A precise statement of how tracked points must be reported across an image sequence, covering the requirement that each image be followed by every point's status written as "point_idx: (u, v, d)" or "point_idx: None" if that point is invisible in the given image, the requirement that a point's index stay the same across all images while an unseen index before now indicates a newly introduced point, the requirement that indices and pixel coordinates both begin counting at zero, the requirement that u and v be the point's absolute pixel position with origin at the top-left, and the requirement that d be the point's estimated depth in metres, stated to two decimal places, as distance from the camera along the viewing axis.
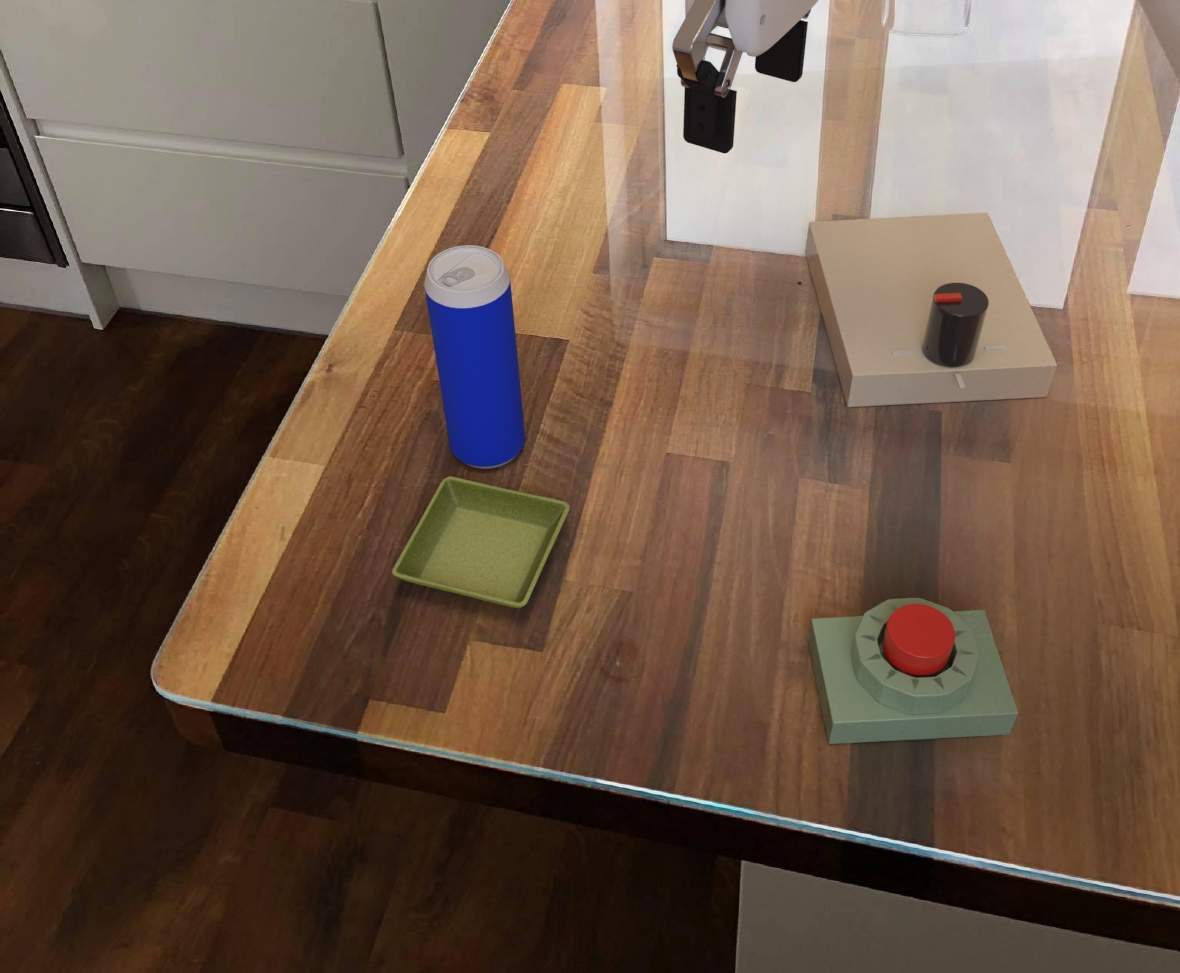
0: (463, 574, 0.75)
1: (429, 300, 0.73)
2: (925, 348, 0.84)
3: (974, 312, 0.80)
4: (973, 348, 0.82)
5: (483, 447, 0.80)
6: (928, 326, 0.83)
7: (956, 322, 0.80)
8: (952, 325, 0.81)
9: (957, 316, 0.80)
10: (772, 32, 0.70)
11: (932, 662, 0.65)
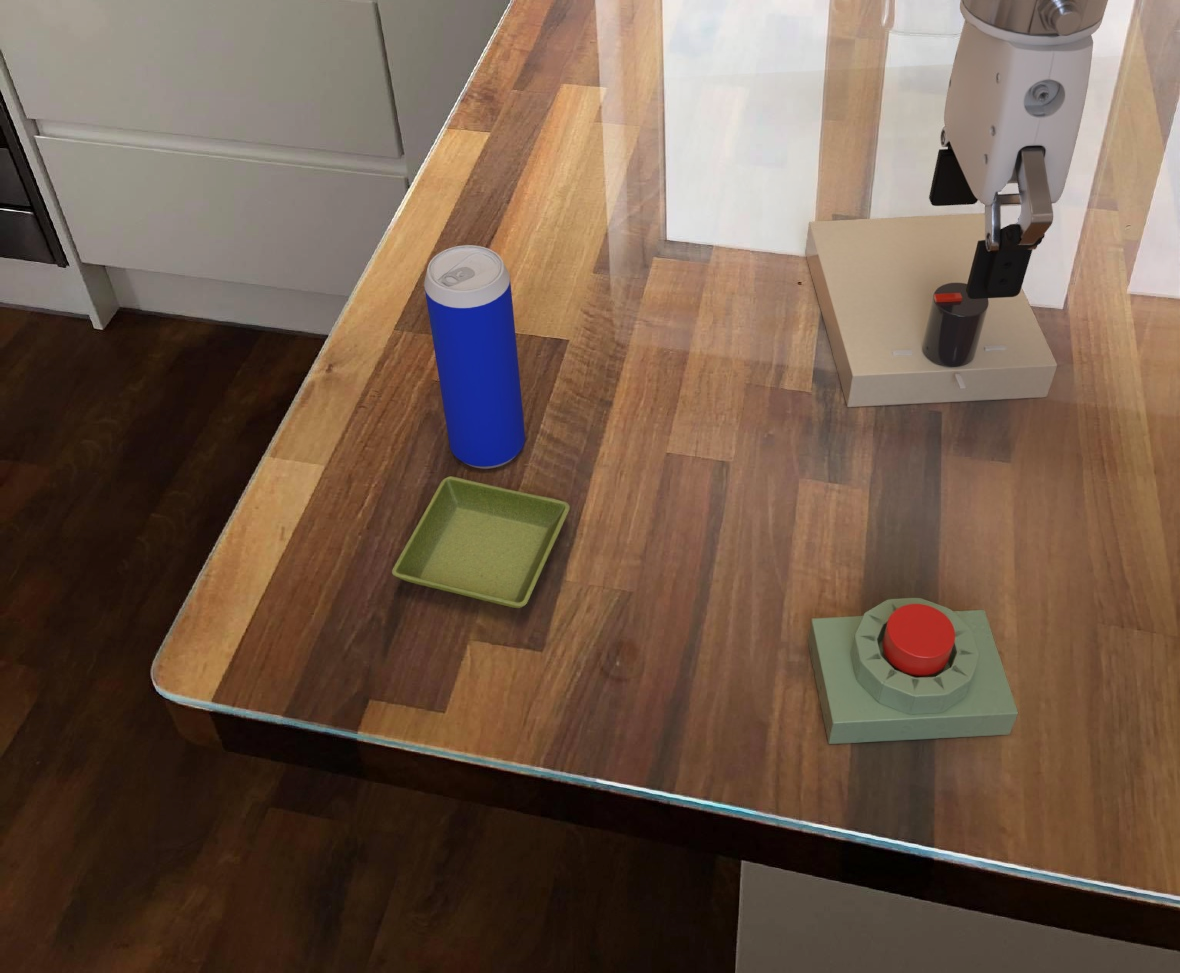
0: (463, 574, 0.75)
1: (429, 300, 0.73)
2: (925, 348, 0.84)
3: (974, 312, 0.80)
4: (973, 348, 0.82)
5: (483, 447, 0.80)
6: (928, 326, 0.83)
7: (956, 322, 0.80)
8: (952, 325, 0.81)
9: (957, 316, 0.80)
10: None
11: (932, 662, 0.65)
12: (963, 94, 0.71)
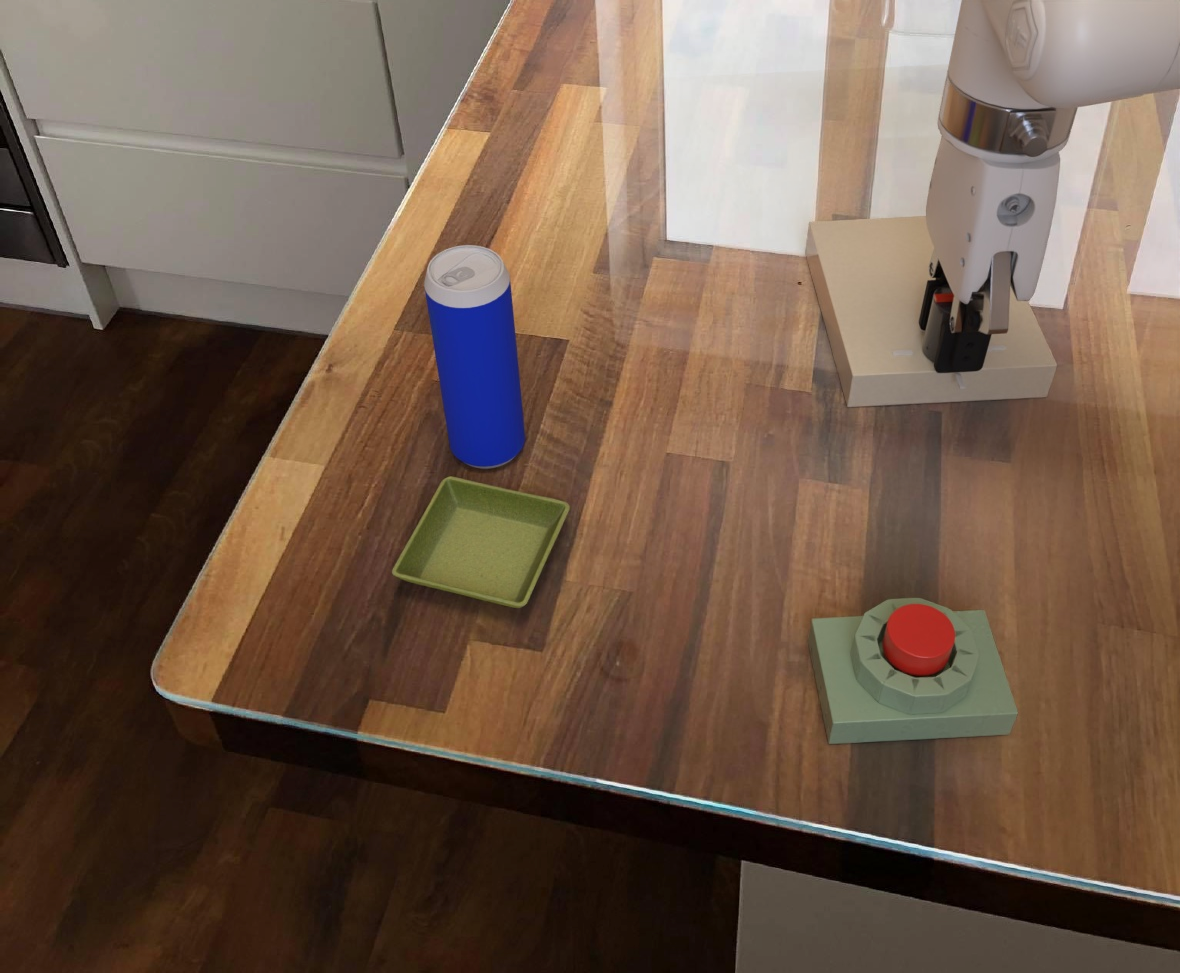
0: (463, 574, 0.75)
1: (429, 300, 0.73)
2: (925, 348, 0.84)
3: None
4: None
5: (483, 447, 0.80)
6: (928, 326, 0.83)
7: None
8: None
9: None
10: None
11: (932, 662, 0.65)
12: (942, 199, 0.76)
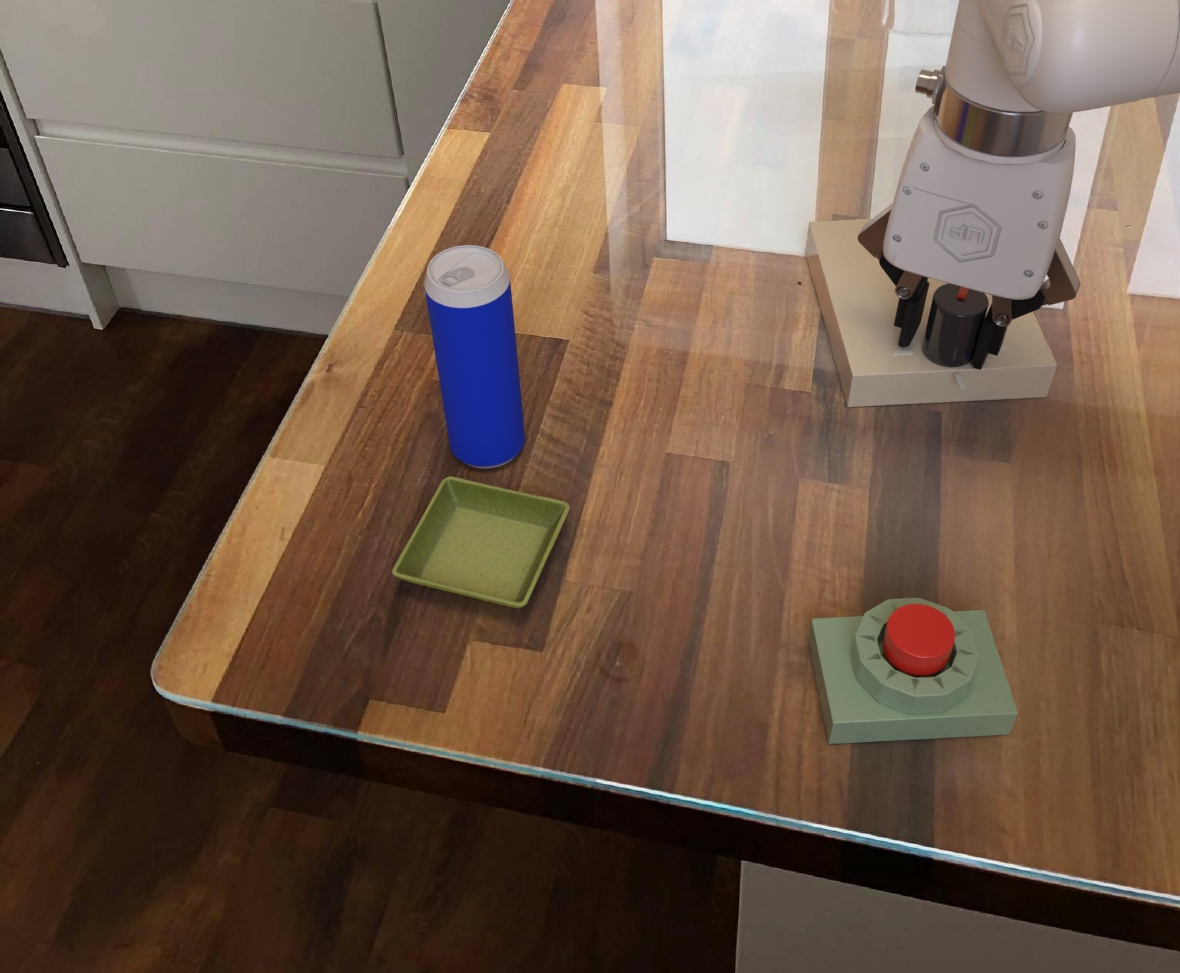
0: (463, 574, 0.75)
1: (429, 300, 0.73)
2: None
3: (937, 298, 0.81)
4: (927, 340, 0.83)
5: (483, 447, 0.80)
6: None
7: None
8: None
9: (937, 288, 0.82)
10: (912, 260, 0.78)
11: (932, 662, 0.65)
12: None
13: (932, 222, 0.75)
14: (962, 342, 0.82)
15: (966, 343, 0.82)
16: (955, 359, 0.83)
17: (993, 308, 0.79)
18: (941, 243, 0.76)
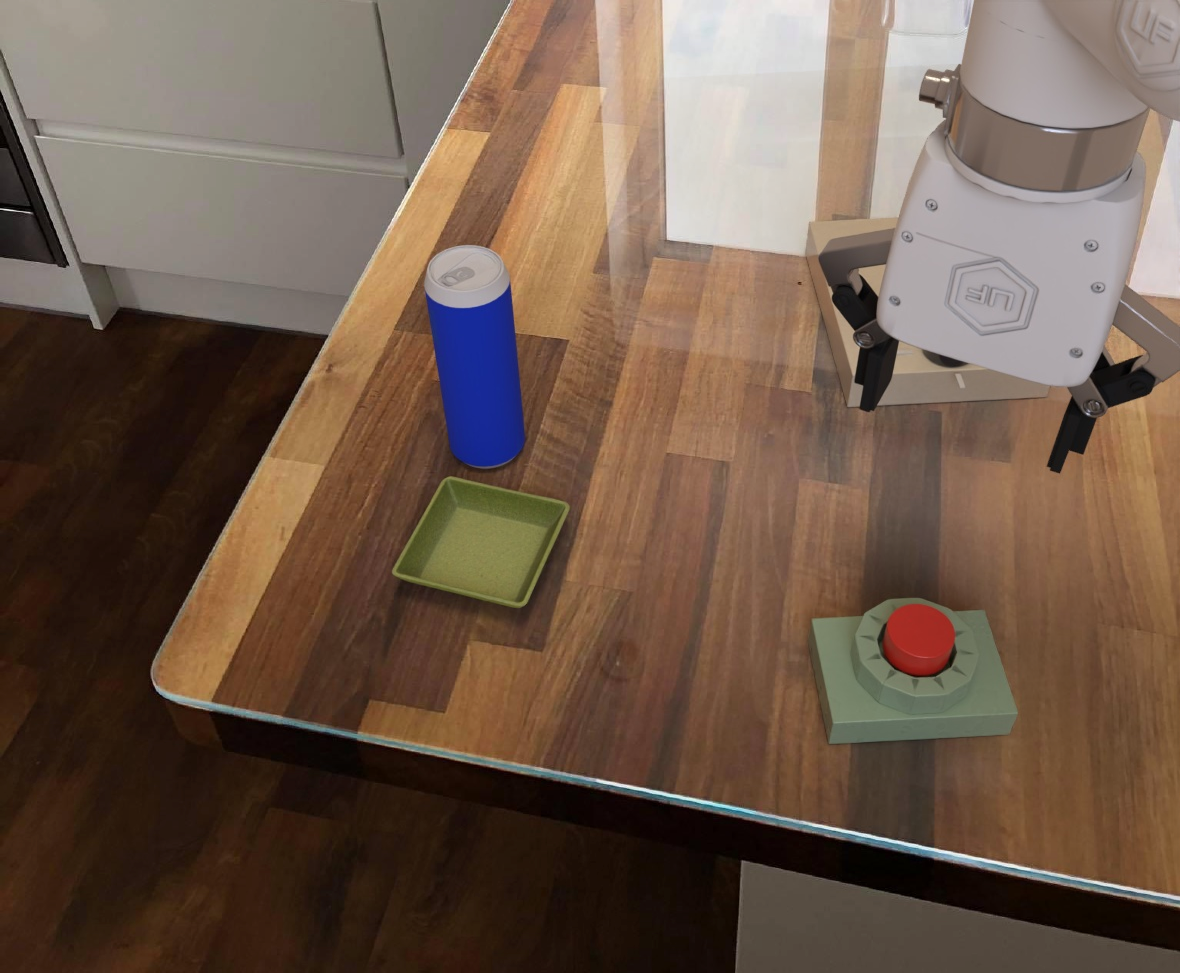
0: (463, 574, 0.75)
1: (429, 300, 0.73)
2: None
3: None
4: None
5: (483, 446, 0.80)
6: None
7: None
8: None
9: None
10: (915, 330, 0.57)
11: (932, 662, 0.65)
12: None
13: (942, 280, 0.54)
14: None
15: None
16: (955, 359, 0.83)
17: (1074, 397, 0.57)
18: (955, 309, 0.55)
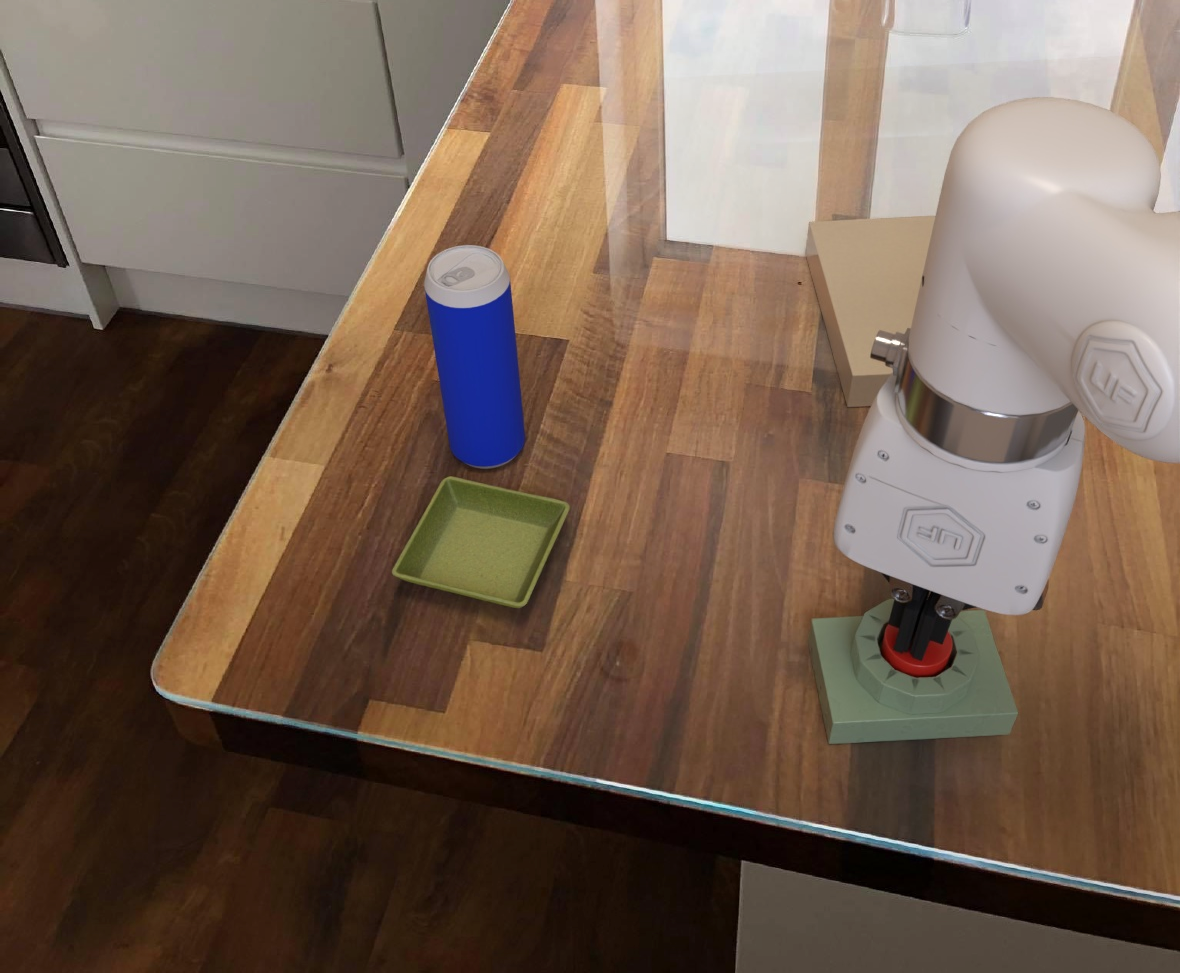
0: (463, 574, 0.75)
1: (429, 300, 0.73)
2: None
3: None
4: None
5: (483, 447, 0.80)
6: None
7: None
8: None
9: None
10: (870, 555, 0.59)
11: (929, 671, 0.65)
12: None
13: (895, 518, 0.57)
14: None
15: None
16: None
17: (941, 598, 0.61)
18: (907, 542, 0.58)
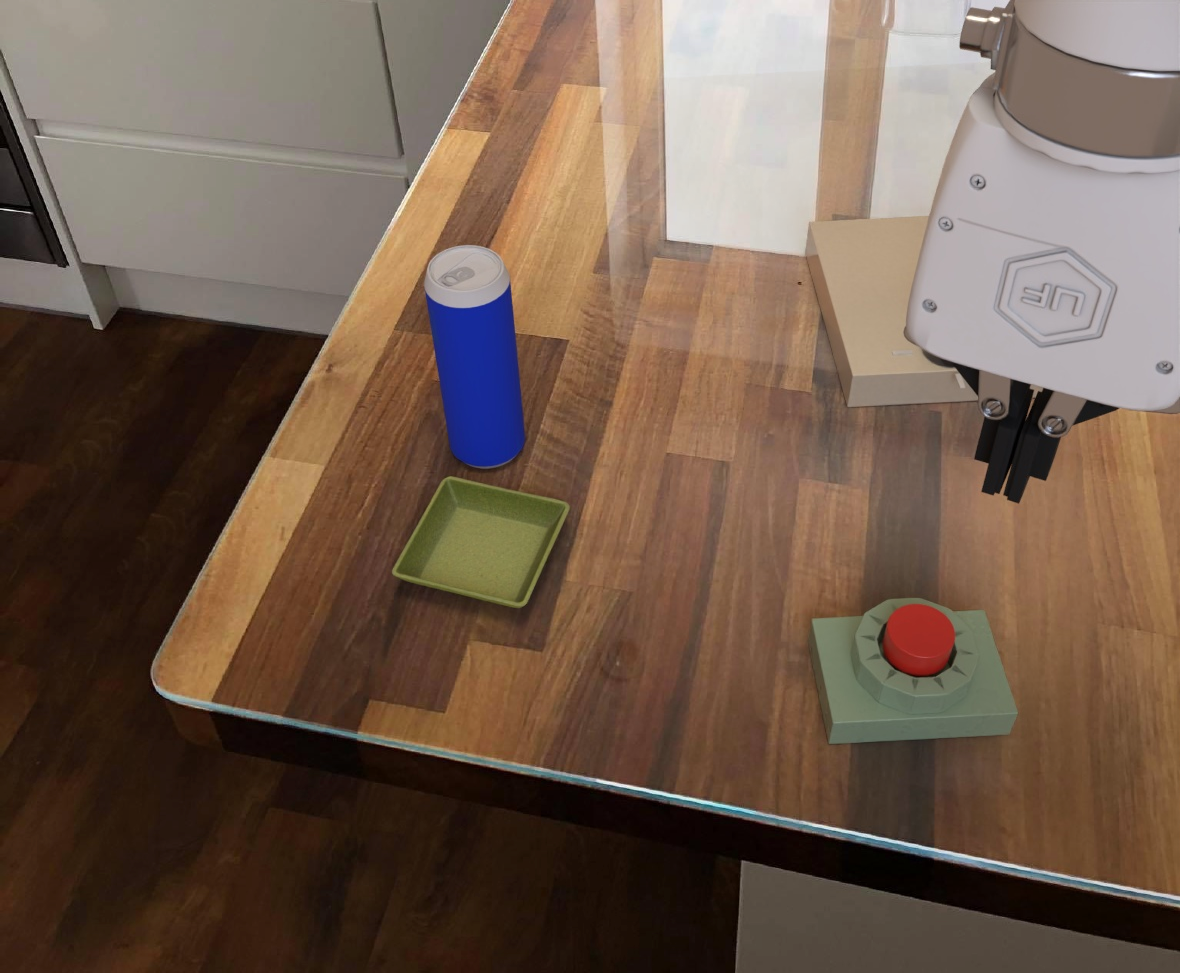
0: (463, 574, 0.75)
1: (429, 300, 0.73)
2: None
3: None
4: None
5: (483, 446, 0.80)
6: None
7: None
8: None
9: None
10: (956, 343, 0.45)
11: (932, 662, 0.65)
12: None
13: (991, 278, 0.43)
14: None
15: None
16: None
17: (1048, 406, 0.47)
18: (1007, 314, 0.44)
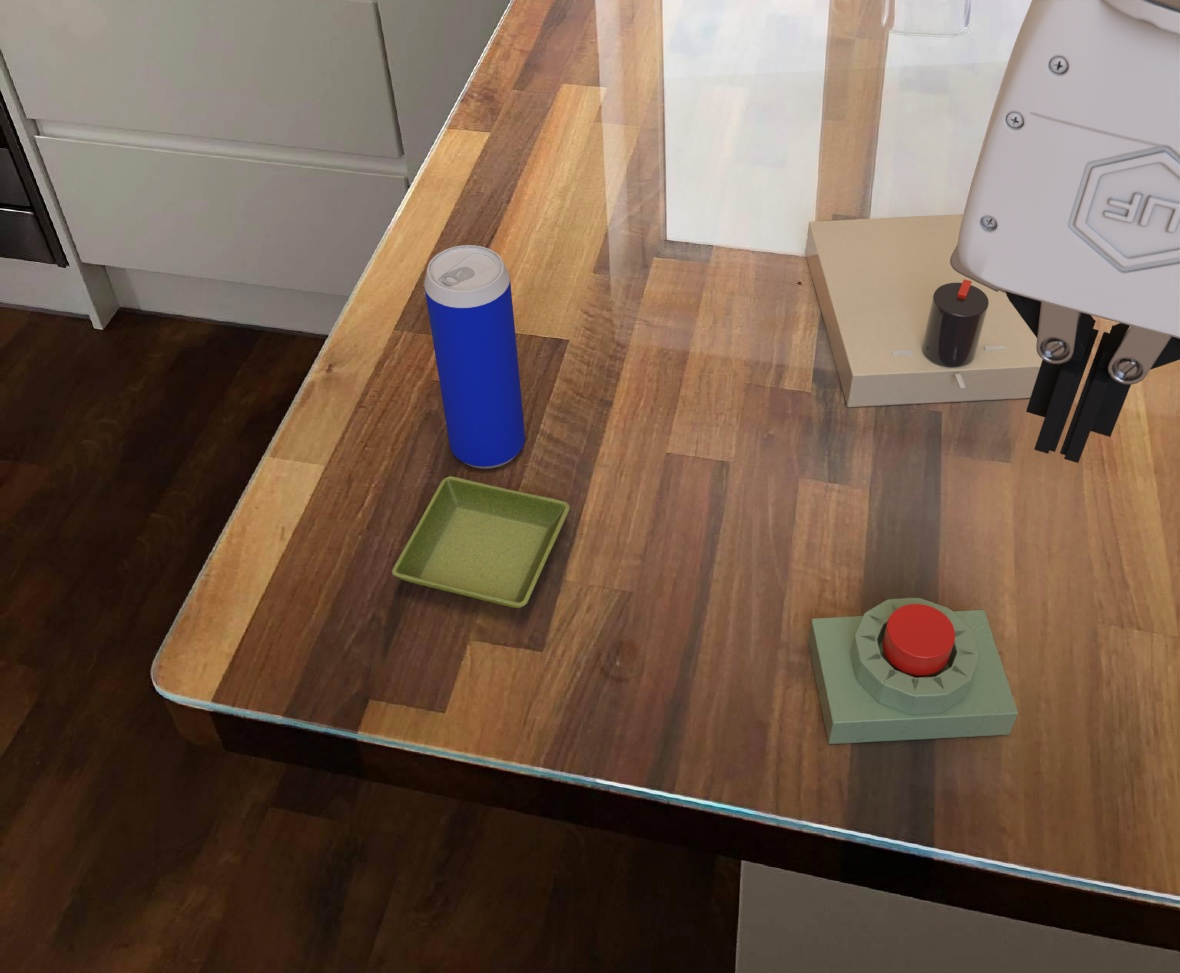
0: (463, 574, 0.75)
1: (429, 300, 0.73)
2: None
3: (937, 298, 0.81)
4: (927, 340, 0.83)
5: (483, 446, 0.80)
6: None
7: None
8: None
9: (937, 288, 0.82)
10: (1018, 269, 0.38)
11: (932, 662, 0.65)
12: None
13: (1068, 188, 0.36)
14: (962, 342, 0.82)
15: (966, 343, 0.82)
16: (955, 359, 0.83)
17: (1122, 346, 0.40)
18: (1084, 233, 0.36)
